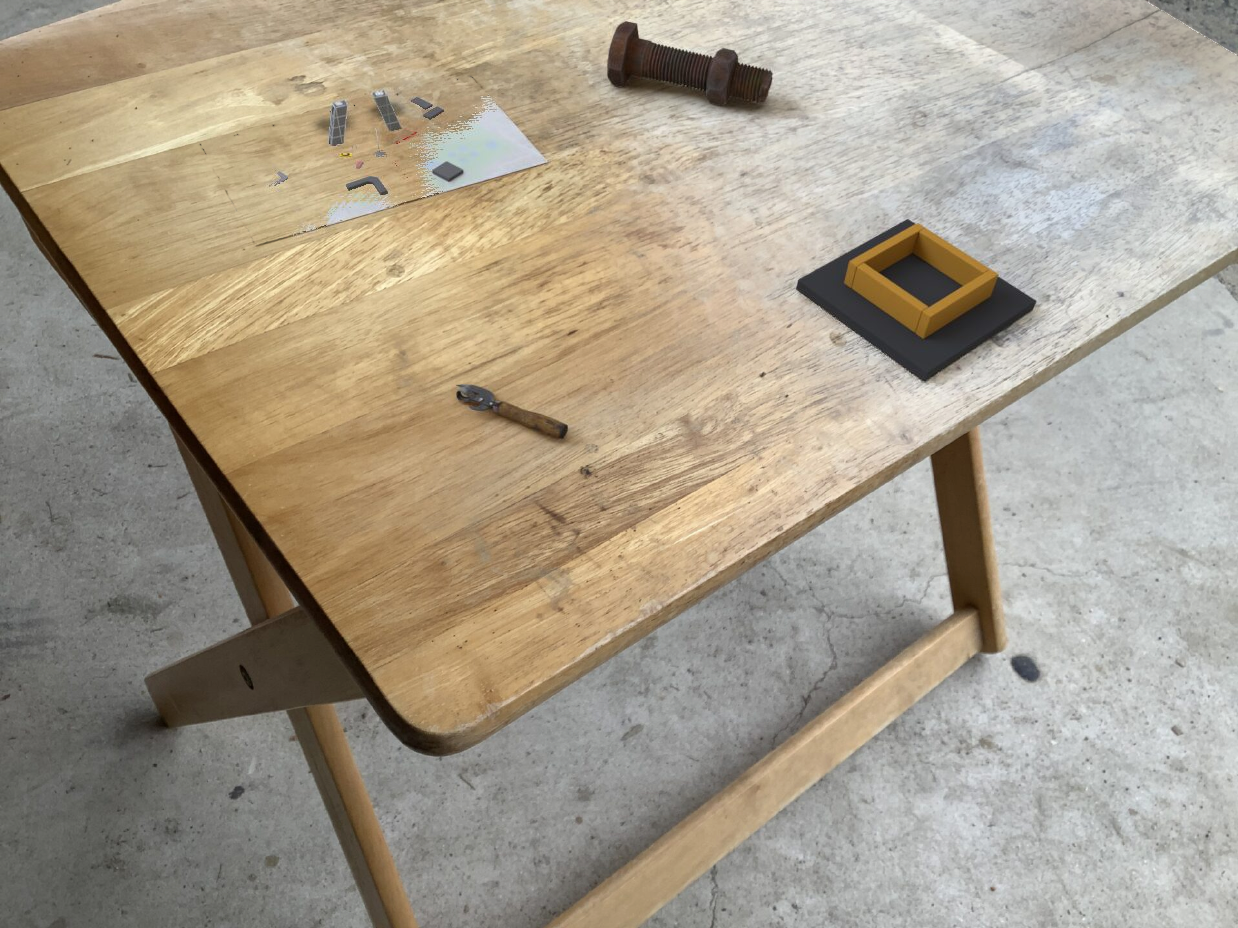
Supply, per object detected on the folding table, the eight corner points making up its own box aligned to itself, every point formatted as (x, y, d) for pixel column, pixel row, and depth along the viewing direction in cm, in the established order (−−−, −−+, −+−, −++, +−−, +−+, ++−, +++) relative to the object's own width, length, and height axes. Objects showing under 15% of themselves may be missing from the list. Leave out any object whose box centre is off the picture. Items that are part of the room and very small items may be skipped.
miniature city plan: (255, 246, 86) (244, 207, 83) (198, 143, 95) (187, 104, 93) (548, 162, 95) (547, 124, 92) (471, 75, 104) (468, 38, 101)
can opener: (570, 433, 74) (569, 421, 73) (550, 455, 73) (550, 443, 72) (463, 381, 77) (462, 369, 76) (443, 401, 76) (441, 389, 75)
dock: (1033, 310, 84) (1046, 278, 82) (924, 382, 79) (935, 350, 76) (904, 228, 91) (914, 196, 88) (795, 289, 85) (802, 256, 83)
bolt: (760, 128, 103) (610, 92, 105) (775, 81, 104) (625, 47, 106) (762, 95, 98) (603, 58, 100) (778, 46, 98) (620, 10, 101)
